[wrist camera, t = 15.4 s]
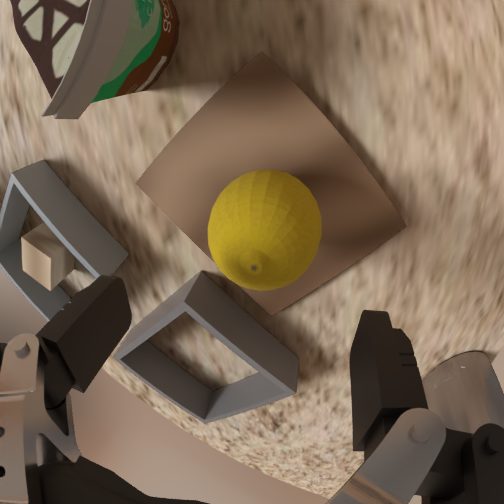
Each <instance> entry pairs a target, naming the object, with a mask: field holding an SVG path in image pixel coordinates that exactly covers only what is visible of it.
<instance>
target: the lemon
mask: <svg viewBox="0 0 504 504" xmlns="http://www.w3.org/2000/svg"><path fill="white" fill-rule="evenodd" d="M321 235H322V219H321V214H320V211H319V207H318V204H317V201H316V200H315V198H314V196H313V195H312V193H311V192H310V190H309V189H308V188H307V187H306V186H305V185H304V184H303V183H302V182H301V181H300V180H299V179H297V178H296V177H294V176H292V175H290V174H288V173H286V172H282V171H278V170H274V169H260V170H256V171H252V172H248V173H245V174H244V175H242V176H240V177H238V178H237V179H235V180H233V181H232V182H231V183H230V184H229V185H228V186H227V187H226V188H225V189H224V190H223V191H222V192H221V193H220V195H219V196H218V198H217V200H216V202H215V204H214V206H213V208H212V210H211V214H210V219H209V223H208V245H209V249H210V252H211V255H212V258H213V260H214V262H215V263H216V265H217V266H218V268H219V269H220V271H221V272H222V273H223V274H224V275H225V276H226V277H227V278H228V279H230V280H231V281H233V282H234V283H236V284H238V285H240V286H243V287H245V288H248V289H253V290H259V291H265V290H274V289H278V288H281V287H284V286H286V285H288V284H290V283H292V282H294V281H295V280H297V279H298V278H299V277H300V276H301V275H302V274H303V273H304V272H305V271H306V270H307V269H308V267H309V266H310V264H311V262H312V261H313V259H314V257H315V255H316V253H317V251H318V247H319V243H320V240H321Z"/></svg>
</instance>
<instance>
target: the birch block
mask: <svg viewBox="0 0 504 504" xmlns="http://www.w3.org/2000/svg"><path fill="white" fill-rule="evenodd" d="M21 241H22V265H23V271H25V272H26V273H27V274H28V275H30V276H31V277H32V278H34V279H35V280H36V281H37V282H39V283H40V284H41V285H43V286H44V287H46V288H47V289H48V290H50V291H52V290H53V289H54V288H55V287H56V286H57V285H58V284H59V283H60V282H61V281H62V280H63V279H64V278H65V277H66V276H67V275H68V274H69V273H71V272H72V271H73V270H74V263H75V256H74V255H73V254H72V253H71V252H70V251H69V249H68V248H67V247H66V246H65V245H64V244H63V243H62V242H61V241H60V239H59V238H58V237H57V236H56V235H55V234H54V233H53V231H52V230H51V229H50V228H49V227H48V226H47V224H46V223H45V222H43V223H42V224H40V225H39V226H37V227H36V228H34V229H33V230H31V231H30V232H28V233H27V234H25V235H24V236H22V237H21Z"/></svg>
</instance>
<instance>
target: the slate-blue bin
mask: <svg viewBox="0 0 504 504" xmlns="http://www.w3.org/2000/svg"><path fill="white" fill-rule="evenodd" d="M30 205H31V206H32V207H33V209H34V210H35V211H36V212H37V214H38V215H39V216H40V217H41V218H42V220H43V221H44V222H45V223H46V224H47V226H48V227H49V228H50V229H51V230H52V231H53V233H54V234H55V235H56V236H57V237H58V238H59V239H60V241H61V242H62V243H63V244H64V245H65V246H66V247H67V248H68V249H69V251H70V252H71V253H72V254H73V255H74V256H75V257H76V258H77V259H78V260H79V261H80V262H81V263H82V264H83V265H84V267H85V268H86V269H87V270H88V271H89V272H90V273H91V274H92V275H93V276H94V277H95V278H96V279H97V278H98V277H99V276H101V275H107V276H112V275H113V273H114V272H115V271H116V270H117V268H118V267H119V266H120V265H121V264H122V262H123V261H124V260H125V259H126V258H127V257H128V255H129V253H128V252H127V251H126V250H125V249H124V248H123V247H122V246H121V245H120V244H119V243H118V242H117V241H116V240H115V239H114V237H113V236H112V235H111V234H110V233H109V232H108V231H107V230H106V229H105V228H104V227H103V226H102V225H101V224H100V223H99V222H98V221H97V220H96V219H95V217H94V216H93V215H92V214H91V213H90V212H89V211H88V210H87V209H86V208H85V207H84V206H83V204H82V203H81V202H80V201H79V200H78V199H77V198H76V197H75V195H74V194H73V193H72V192H71V191H70V190H69V189H68V188H67V186H66V185H65V184H64V183H63V182H62V181H61V179H60V178H59V177H58V176H57V175H56V173H55V172H54V171H53V170H52V169H51V168H50V166H49V165H48V164H47V163H46V161H45V160H41V161H39V162H36V163H34V164H31V165H29V166H26V167H24V168H22V169H19V170H17V171H15V172H12V174H11V177H10V180H9V183H8V187H7V190H6V194H5V197H4V201H3V204H2V208H1V212H0V267H1V268H2V269H3V271H4V272H5V273H6V275H8V277H9V278H10V280H11V281H12V282H13V283H14V285H15V286H16V287H17V288H18V289H19V290H20V292H21V293H22V294H23V295H24V296H25V297H26V298H27V300H28V301H29V302H30V303H31V304H32V305H33V306H34V307H35V308H36V310H37V311H38V312H39V313H40V314H41V315H42V316H43V317H44V318H45V319H46V320H47V321H48V322H49V321H50V320H51V319H52V318H53V317H54V315H55V314H56V313H57V312H58V311H59V310H62V307H63V306H64V305H65V304H66V303H69V300H70V299H71V298H70V297H69V296H68V295H67V294H66V293H65V292H64V291H63V290H62V289H61V287H60V286H59V285H57V286H56V287H55V288H54V289H53V290H52V291H50V290H48V289H47V288H46V287H44V286H43V285H41V284H40V283H39V282H37V281H36V280H35V279H34V278H32V277H31V276H30V275H28V274H27V273H26V272H25V271H23V265H22V243H21V241H20V240H19V236H20V233H21V230H22V227H23V224H24V221H25V218H26V215H27V212H28V209H29V207H30ZM96 279H95V280H96ZM95 280H94V281H95Z"/></svg>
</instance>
